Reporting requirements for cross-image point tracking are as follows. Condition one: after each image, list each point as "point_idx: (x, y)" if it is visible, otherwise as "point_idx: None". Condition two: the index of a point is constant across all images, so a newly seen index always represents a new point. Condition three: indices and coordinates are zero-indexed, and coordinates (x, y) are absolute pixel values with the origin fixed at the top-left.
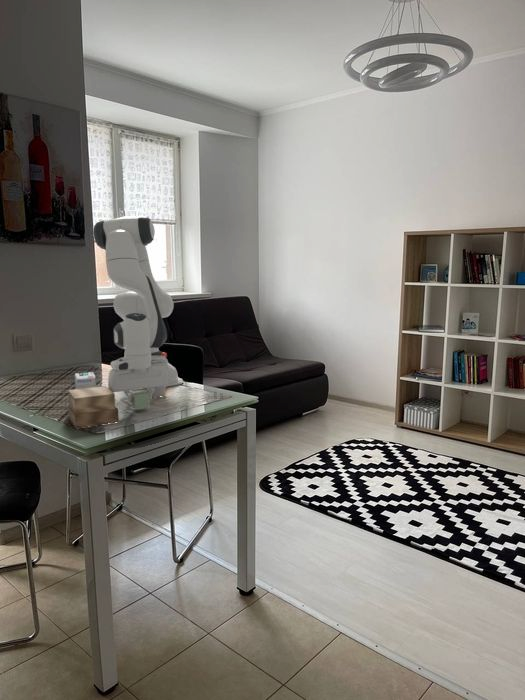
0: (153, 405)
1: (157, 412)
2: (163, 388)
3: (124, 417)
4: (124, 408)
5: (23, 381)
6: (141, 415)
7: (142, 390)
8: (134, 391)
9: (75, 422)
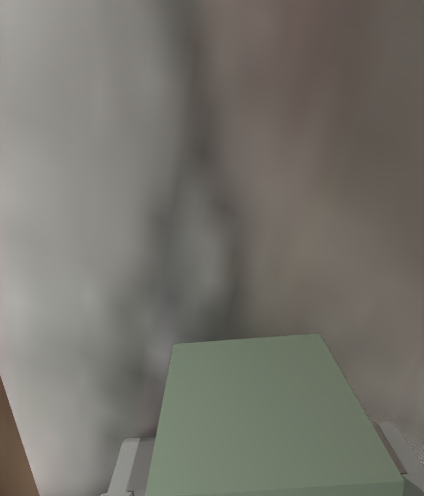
0: (406, 255)
1: None
2: None
3: (102, 476)
4: (126, 247)
5: None
6: None
7: (365, 483)
8: (219, 494)
9: None
